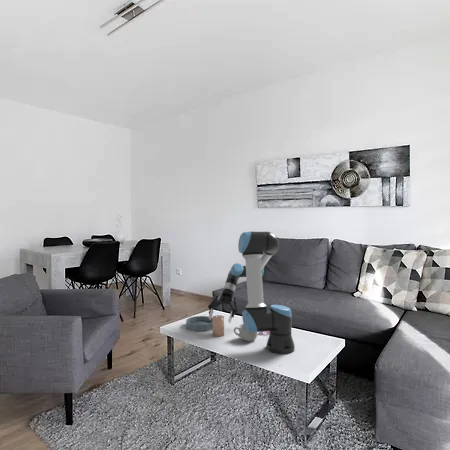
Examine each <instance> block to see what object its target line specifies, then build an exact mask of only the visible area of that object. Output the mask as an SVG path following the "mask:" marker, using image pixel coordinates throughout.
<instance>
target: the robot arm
mask: <svg viewBox="0 0 450 450" xmlns="http://www.w3.org/2000/svg"><path fill="white" fill-rule="evenodd" d="M237 243H238V244H237V247H238V249H237V250H238V252H239V254H241V256H242V258H244V260H245V261H244V262H245V265H242V264H241V263H237V262H236V263H234V264H233V265H232V266H231V267H230V270H229V272H228V274H227V277H226V280H225V284H224V286H223V289H222V292H221V296H219V295H216V296H215V298H214V299H213V300H212V301H211V302H210V303H209V305H207V308H208V318H209V320H211V317H212V318H213V316H214V311H215V309H216V308H218V307H219V306H220V305H229V307H230V309H231V311H230V314H229V317H228V319H227V320H228V323H229V324H230V323H232V320H233V318H234V317H235V315H236V314H237V313H239V310H238V304H237V301H238V300H237V297H234V294H235V291H236V288H237V285H238V281H239V279H240V278H246V279H245V280H246V291H247V292H246V293H247V304H246V306H245V309H244V310H243V311H242V313H241V315H242V316H241V317H242V318H241V319H242V324H244V326H245V328H246V330H247V331H248V332H256V333H257V334H258V333H259V332H263V331H270V335H268V338H267V340H266V341H267V342H266V350H267V351H269V352H271V353H274V354H282V355H284V354H285V355H286V354H291V353H293V352H294V351H295V350H296V349H295V347H296V346H295V342H294V339H293V336H292V323H293V322H292V320H293V319H292V317H293V316H292V309H291V308H290V307H288V306H286V305H280V304H271V305H270V306H269V308H268V306H267V304H266V303H265V302H264V300H265V298H264V287H263V286H264V285H263V276H264V272H265V269H264V268H265V266H266V265H267V264H268V262H269V261H270V259H271V258H272V256H274V255H276V254H277V252H279V248H280V240H279V238H278V237H277V236H276V234H274V233H272V232H270V231H243V232H242V233H241V234H240V235H239V238H238V242H237ZM231 302H233V305H234V306H233V305H232V303H231ZM263 333H264V332H263Z"/></svg>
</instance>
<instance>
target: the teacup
mask: <svg viewBox="0 0 450 450" xmlns="http://www.w3.org/2000/svg"><path fill="white" fill-rule="evenodd" d="M237 330H238V332H239V333H238V332H236V331H237ZM233 334H235V335H236V336H238V337H239V338H240V339H241V340H242V341H244V342H253V341H255V340H256V339H257V336H258V332H257V333H256V332H248V331H247V330H246V328H245V326H244V323H242V324H241V323H240V325H239V326H235V327H234V328H233Z"/></svg>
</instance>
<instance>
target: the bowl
mask: <svg viewBox="0 0 450 450" xmlns="http://www.w3.org/2000/svg"><path fill="white" fill-rule="evenodd" d="M208 317H209V315H208V316H206V315H197V316H190V317H188V318H187V319H185V321H186V322H185V324H186V326H185V327H186V329H188V330H189V331H193V332H207V331H213V316H212V317H211V320H209V318H208Z"/></svg>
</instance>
